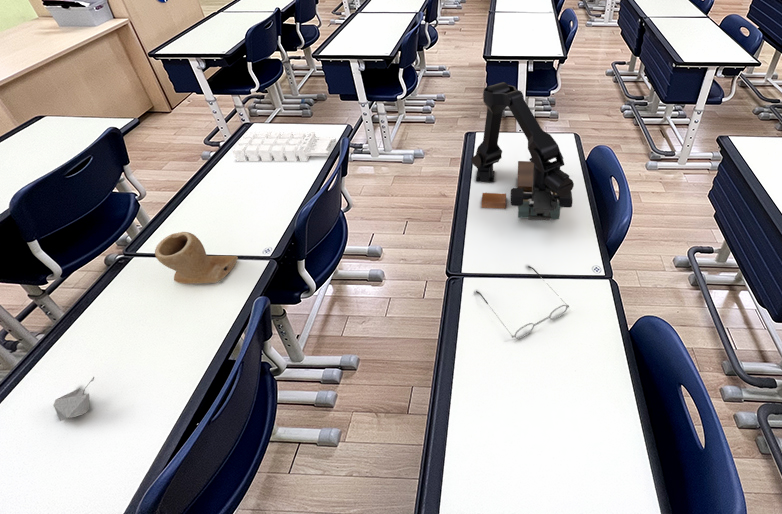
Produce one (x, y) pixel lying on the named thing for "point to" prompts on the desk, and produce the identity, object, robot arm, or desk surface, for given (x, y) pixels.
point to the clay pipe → (192, 259)
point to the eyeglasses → (537, 322)
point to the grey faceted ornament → (72, 404)
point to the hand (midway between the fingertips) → (539, 218)
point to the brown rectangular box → (493, 200)
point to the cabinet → (525, 174)
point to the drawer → (528, 212)
